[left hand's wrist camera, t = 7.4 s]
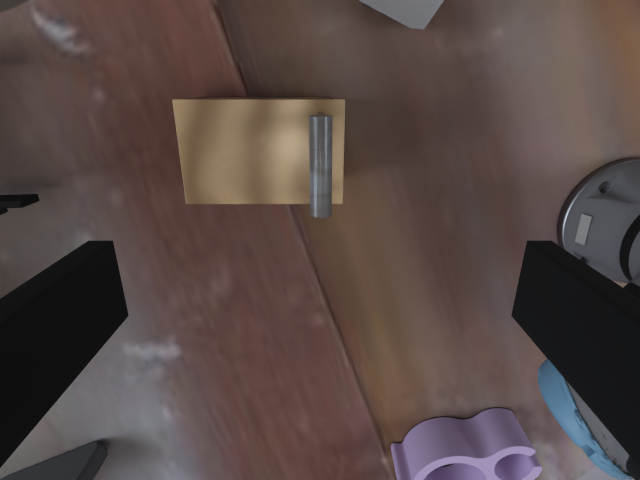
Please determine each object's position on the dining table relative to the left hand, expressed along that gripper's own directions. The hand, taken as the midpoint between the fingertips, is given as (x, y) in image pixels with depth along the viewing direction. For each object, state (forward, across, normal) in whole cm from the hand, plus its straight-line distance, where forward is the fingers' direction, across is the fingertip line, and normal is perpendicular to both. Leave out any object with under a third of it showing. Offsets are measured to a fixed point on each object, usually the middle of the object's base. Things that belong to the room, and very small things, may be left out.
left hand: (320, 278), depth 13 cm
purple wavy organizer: (+36, +22, -48) cm, 64 cm away
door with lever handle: (+27, -6, 0) cm, 27 cm away
